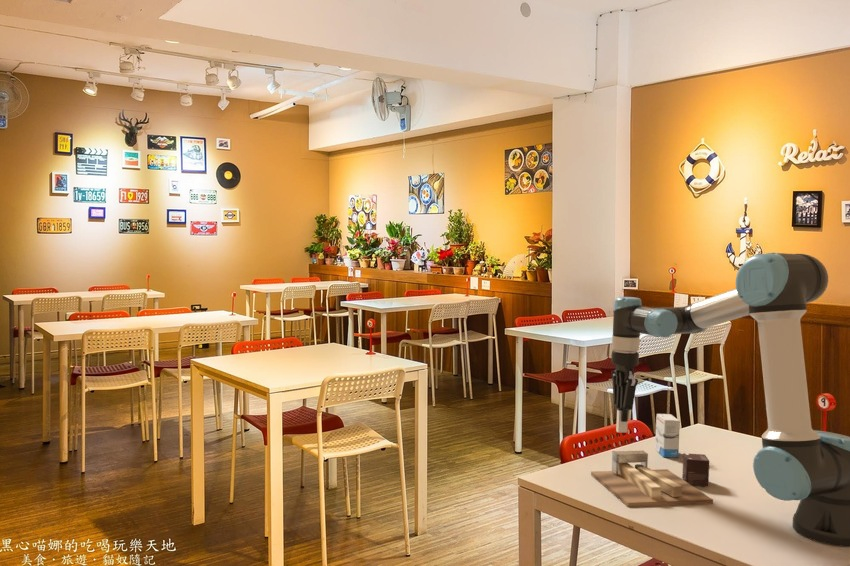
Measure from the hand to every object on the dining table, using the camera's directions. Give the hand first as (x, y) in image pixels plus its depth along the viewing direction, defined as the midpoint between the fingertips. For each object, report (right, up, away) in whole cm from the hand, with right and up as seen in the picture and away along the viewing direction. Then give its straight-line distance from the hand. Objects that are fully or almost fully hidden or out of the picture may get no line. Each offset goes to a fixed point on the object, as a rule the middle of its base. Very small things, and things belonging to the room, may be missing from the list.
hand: (621, 431), depth 204 cm
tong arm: (+5, -11, -15) cm, 19 cm away
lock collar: (+1, -10, -5) cm, 12 cm away
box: (+18, -13, -8) cm, 24 cm away
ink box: (+19, -11, +18) cm, 29 cm away
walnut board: (+3, -12, -14) cm, 19 cm away
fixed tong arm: (0, -12, -14) cm, 19 cm away
